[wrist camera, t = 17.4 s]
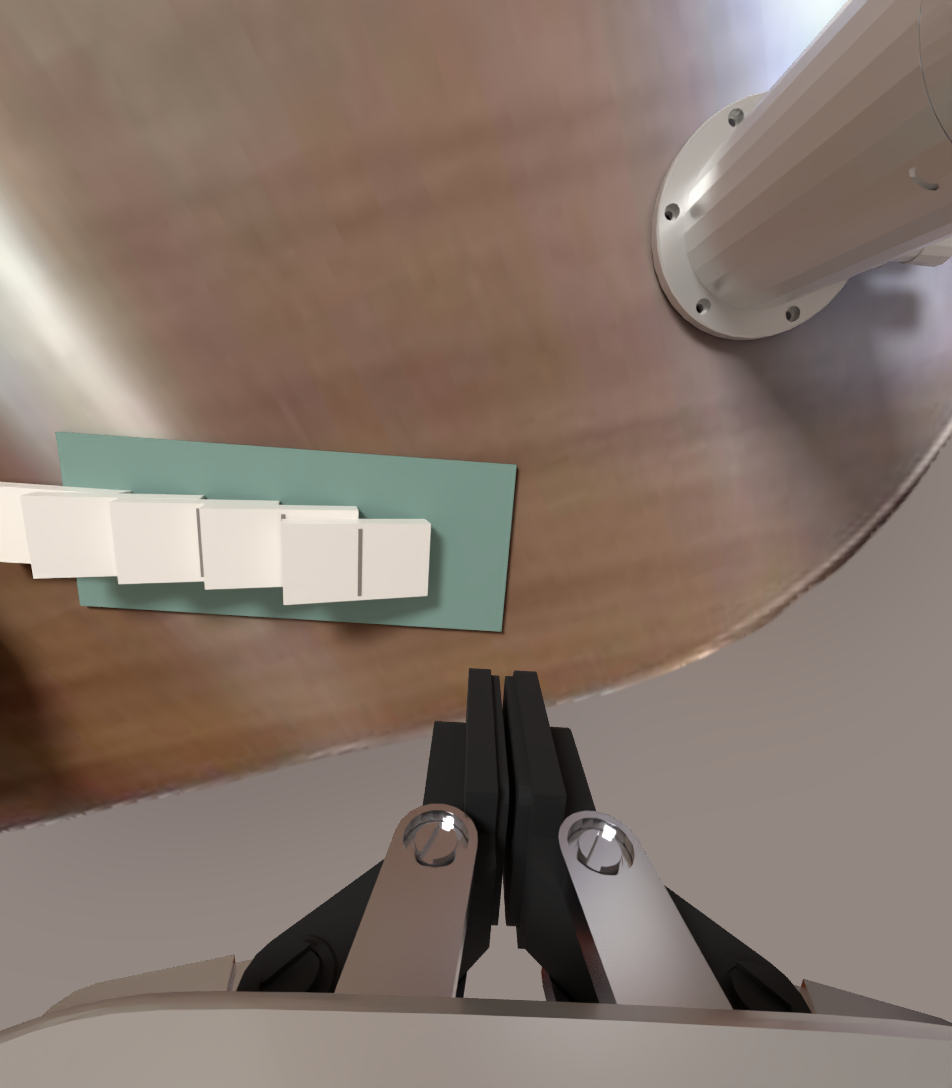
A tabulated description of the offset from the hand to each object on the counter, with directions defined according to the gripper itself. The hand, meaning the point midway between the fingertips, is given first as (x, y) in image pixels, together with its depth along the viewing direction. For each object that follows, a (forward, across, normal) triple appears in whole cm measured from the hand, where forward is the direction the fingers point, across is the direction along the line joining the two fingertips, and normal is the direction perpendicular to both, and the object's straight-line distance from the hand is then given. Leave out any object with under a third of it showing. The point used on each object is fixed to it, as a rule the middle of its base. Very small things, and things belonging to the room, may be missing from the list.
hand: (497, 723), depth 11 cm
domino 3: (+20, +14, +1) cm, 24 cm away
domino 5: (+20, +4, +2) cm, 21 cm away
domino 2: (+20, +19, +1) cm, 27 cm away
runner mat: (+21, +13, +1) cm, 25 cm away
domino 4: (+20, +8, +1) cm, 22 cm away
